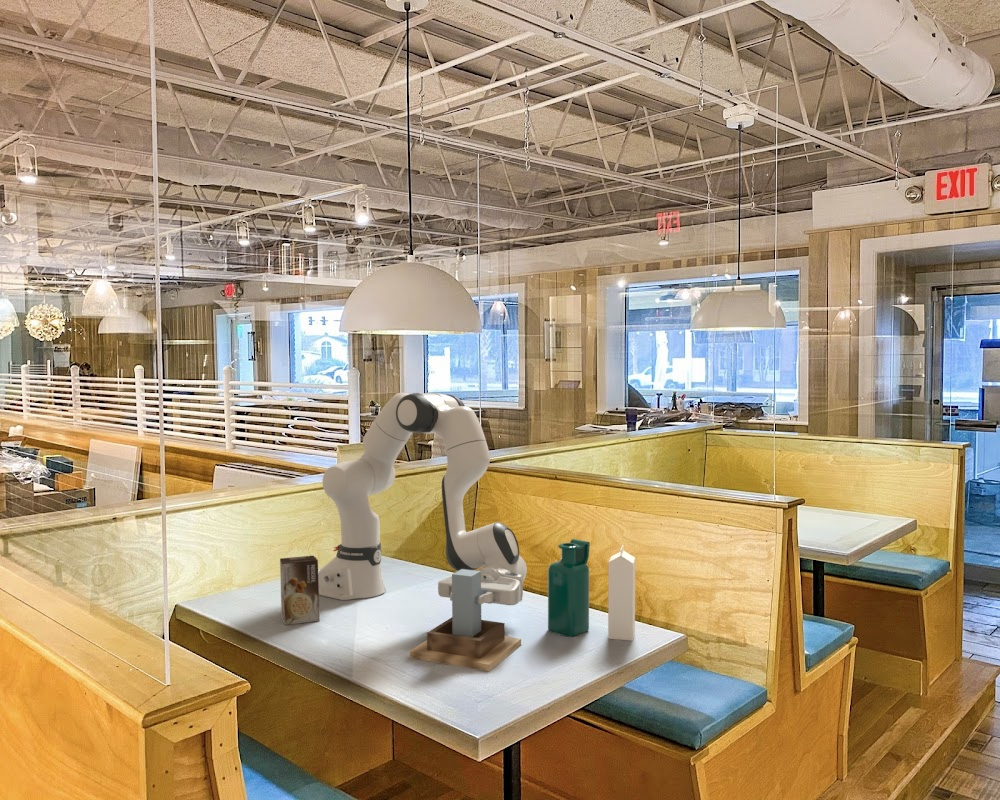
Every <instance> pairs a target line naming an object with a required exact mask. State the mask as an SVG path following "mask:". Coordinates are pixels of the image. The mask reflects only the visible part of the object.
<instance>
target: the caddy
mask: <svg viewBox="0 0 1000 800" xmlns="http://www.w3.org/2000/svg"><path fill="white" fill-rule="evenodd" d="M505 626H506V625H505V622H498V621H493V620H492V621H491V620H487V619H486V620H485V619H481V631H480V632H479V633H477V634H476V635H474V636H473V637H467V636H461V635H454V634H452V617H450V618H448V619H447V620H445V621H444V622H442V623H440V624H438V625H437V626H436V627H434V628H432V629H431V630H428V631H427V632H426V640H425V641H423V642H421V643H420V644H419V645H417V646H415V647H413V648H412V649H411V650H409V657H408V658H409V659H415V660H420V661H427V662H432V663H433V662H434V663H436V664H437V663H438V664H444V665H450V666H456V667H462V668H468V669H474V670H480V671H485V672H486V671H487V672H490V671H491V670H493V669H494V668H495V667H496V666H498V665H499V664H500V663H501V662H503V661H504V659H506V658H507V657H508V656H510V655H511V654H512V653H514V651H516V650H517V649H518V648H519V647H521V646H522V638H520V637H519V638H517V637H511V636H506V634H505V628H506V627H505Z"/></svg>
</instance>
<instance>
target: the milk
mask: <svg viewBox="0 0 1000 800" xmlns="http://www.w3.org/2000/svg"><path fill="white" fill-rule="evenodd" d="M607 577H608V578H607V579H608V584H607V585H608V586H607V587H608V593H607V594H608V595H607V596H608V598H607V599H608V606H607V611H608V613H607V614H608V615H607V616H608V617H607V618H608V619H607V621H608V622H607V626H608V627H607V639H609V640H621V641H634V637H635V633H636V557H635V556H633V555H631V554H630V553H628V552H627V551H625V550H624V545H622V546H621V548H620V551H619V552H617V553H615V554H613V555H611V557H610V558H609V559H608V576H607Z"/></svg>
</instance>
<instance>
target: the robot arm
mask: <svg viewBox="0 0 1000 800" xmlns="http://www.w3.org/2000/svg"><path fill="white" fill-rule="evenodd" d="M413 433H414V434H427V435H428V434H431V435H432V434H438V435H440V437H441V439H442V442H443V446H444V449H445V454H446V461H447V464H446V471H445V474H444V476H442V480H441V498H442V499H441V500H442V508H443V518H444V528H445V558H446V561H447V563H448V565H449V566H450V567H451V568H452V569H454V570H455V571H456V572H457V571H459V570H461V569H466V570H475V571H476V570H477V571H481V595H477V596H476V597H475V600H476V601H475V604H481V605H483V604H488V605H489V604H498V605H505V606H517V604H519V603H521V602H522V600H523V595H524V581H525V579H526V577H527V572H528V571H527V570H528V568H527V564H526V563H527V562H526V561H525V560H524V558H523V557H522V556H521V555H520V547H519V543H518V539H517V536H516V534H515V533H514V532H513V530H512V529H511V528H509V527H508V526H507V525H506V524H504V523H502V522H500V521H496V522H493V523H490V524H486V525H483V526H480V527H478V528H475V529H473V530H470V531H466V524H465V516H464V515H465V513H464V505H463V504H464V503H463V502H464V497H465V495H466V494H467V492H468V491H469V490H470V488H471V487H473V485H474V484H476V483H477V482H478V481H479V480H480V479H481V478H483V476H484V475H485V473H486V472H487V470H488V468H489V466H490V462H491V456H490V450H489V447H488V444H487V439H486V436H485V434H484V433H485V432H484V430H483V427H482V424H481V422H480V421H479V419H478V416H477V415H476V413H475V411H474V409H472V408H471V407H468V406H466V405H465V403H464V402H463V400H461V398H459V397H458V396H455V395H452V394H448V393H447V394H444V393H439V392H425V393H424V392H423V393H419V392H413V393H407V392H398V393H396V394H394V395H393V396H392V397H391V398H390V399H389V400H388V402H386V403H385V405H384V406H383V407H382V408H381V409H380V411H379V412H378V414H377V416H376V417H375V418H374V420H373V422H372V423H371V425H370V427H369V428H368V429H367V431H366V432H365V435H364V436H363V439H362V445H363V447H364V451H363V453H362V455H361V456H359V458H357V459H354V460H347V461H341V462H338V463H335V464H333V465H331V466H330V467H328V468H327V469H326V470H325V472H324V473H323V476H322V487H323V491H324V493H325V495H327V496H328V497H329V498H330V499H331V500H332V501H333V502H334V504H335V506H336V508H337V512H338V515H339V520H340V537H341V538H340V541H341V542H340V544H338V545H337V546H334V547H333V549H334V550H333V552H336V551H337V553H336V554H335V555H336V556H335V557H334V558H332V559H331V560H330V561H329V562H328V563H326V564H325V565H324V566H323V567H321V568H320V569H319V570H318V579H319V596H323V597H327V598H331V599H335V600H336V599H337V600H339V601H340V600H341V601H349V600H355V599H366V598H373V597H377V596H380V595H382V594H384V593H385V592H386V587H385V583H384V578H383V573H382V565H381V561H382V543H381V542H380V541H381V540H380V536H381V535H380V534H381V533H380V529H381V528H380V517H379V515H378V514H377V513H376V512H375V511H373V510H372V508H371V506H370V503H369V496H373V495H377V494H381V493H382V492H384V491H386V490H387V489H389V488H390V487H392V486H393V484H394V483H395V480H396V469H395V464H396V463H395V462H396V461H397V458H398V456H399V455H400V453H401V452H402V450H403V449H404V447H405V445H406V443H407V442H408V441H409V439H410V437H412V435H413ZM479 568H480V569H479ZM437 592H438V593H437V594H438V595H439V597H441V598H449V600H450V601H451V602H452V576H448V577H446V578H443V579H441V580H439V581H438V583H437Z"/></svg>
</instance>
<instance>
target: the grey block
mask: <svg viewBox="0 0 1000 800" xmlns="http://www.w3.org/2000/svg"><path fill="white" fill-rule="evenodd" d="M451 577H452V601H451V610H452V612H451V613H452V615H451V616H452V617H451V618H452V634H454V635H461V636H467V637H473V636H474V635H476V634H477V633H479V632H480V631H481V620H482V604H475V601H476V600H475V597H476V596H477V595H481V571H478V570H476V569H475V570H466V569H461V570H459V571H457V570H456V571H455V572H453V573H451Z"/></svg>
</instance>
